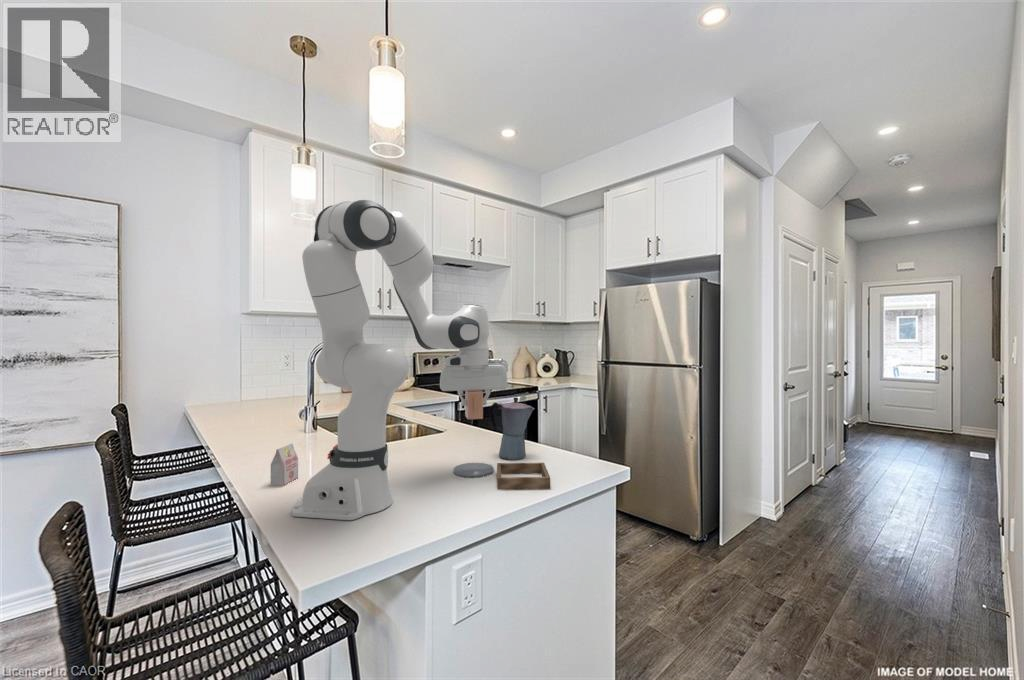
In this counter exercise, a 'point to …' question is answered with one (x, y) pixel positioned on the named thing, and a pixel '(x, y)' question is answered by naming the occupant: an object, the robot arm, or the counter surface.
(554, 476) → the counter surface
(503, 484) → the frame
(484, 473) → the slate coaster
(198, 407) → the counter surface
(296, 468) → the milk carton
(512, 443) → the moka pot
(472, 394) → the terracotta clay block
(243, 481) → the counter surface
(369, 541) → the counter surface
